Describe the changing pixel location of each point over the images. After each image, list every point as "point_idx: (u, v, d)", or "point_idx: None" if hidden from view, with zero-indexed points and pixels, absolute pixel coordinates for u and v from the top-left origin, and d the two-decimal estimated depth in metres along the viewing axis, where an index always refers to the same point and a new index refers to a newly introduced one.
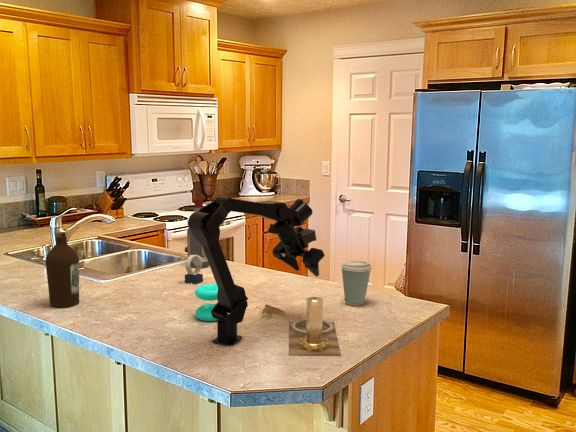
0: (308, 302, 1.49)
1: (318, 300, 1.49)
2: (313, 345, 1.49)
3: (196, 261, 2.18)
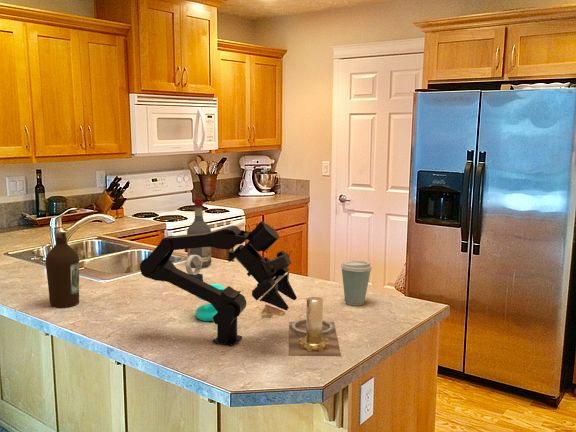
0: (308, 302, 1.49)
1: (318, 300, 1.49)
2: (313, 345, 1.49)
3: (196, 261, 2.18)
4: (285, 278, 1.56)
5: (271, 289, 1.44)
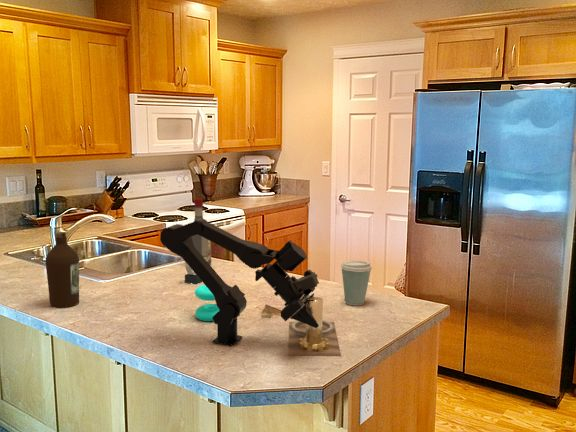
0: (308, 302, 1.49)
1: (318, 300, 1.49)
2: (313, 345, 1.49)
3: None
4: None
5: (302, 307, 1.45)
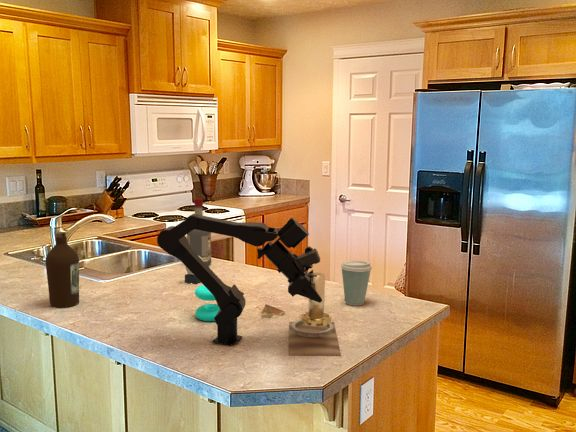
0: None
1: (321, 275, 1.52)
2: (317, 319, 1.52)
3: None
4: None
5: (308, 282, 1.47)
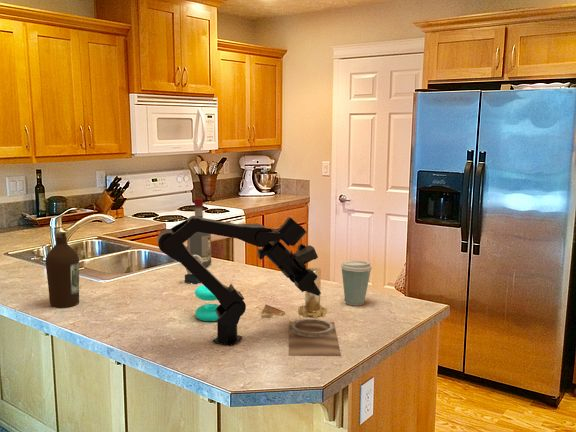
0: None
1: (318, 270, 1.61)
2: (317, 312, 1.61)
3: None
4: None
5: None
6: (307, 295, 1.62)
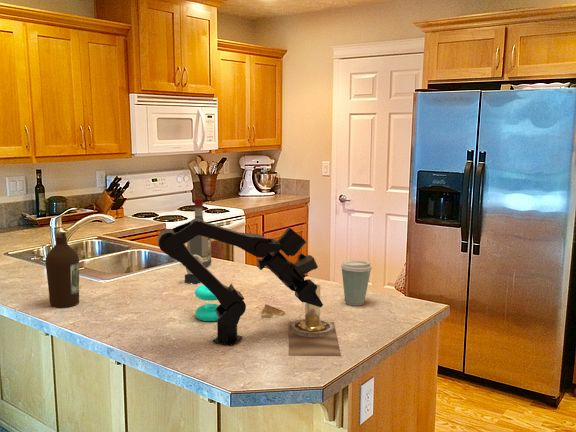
0: None
1: None
2: (317, 328, 1.62)
3: None
4: (302, 279, 1.67)
5: None
6: (307, 311, 1.62)
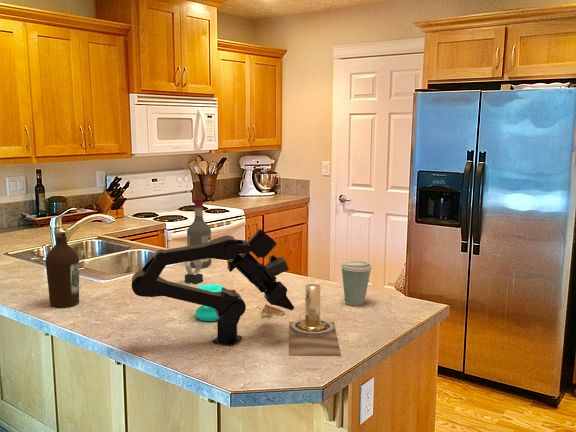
0: (310, 289, 1.61)
1: (317, 286, 1.62)
2: (317, 328, 1.62)
3: (196, 261, 2.18)
4: (274, 281, 1.64)
5: (284, 292, 1.52)
6: (307, 311, 1.62)
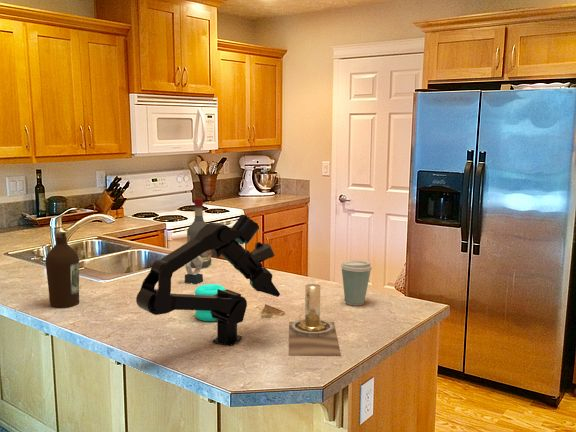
0: (310, 289, 1.61)
1: (317, 286, 1.62)
2: (317, 328, 1.62)
3: (196, 261, 2.18)
4: (260, 268, 1.63)
5: (269, 278, 1.51)
6: (307, 311, 1.62)
